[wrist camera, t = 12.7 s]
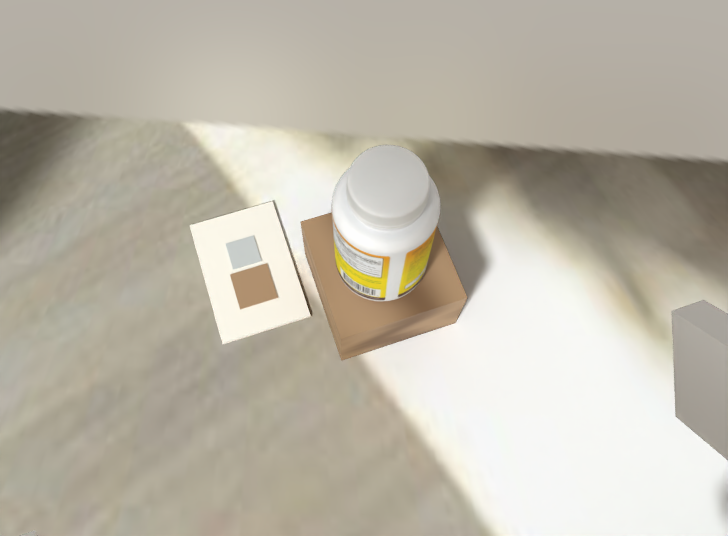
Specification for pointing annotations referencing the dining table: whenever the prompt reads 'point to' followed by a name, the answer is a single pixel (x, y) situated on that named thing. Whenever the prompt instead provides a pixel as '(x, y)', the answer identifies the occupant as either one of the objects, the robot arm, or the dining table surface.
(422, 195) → the supplement bottle
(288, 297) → the page
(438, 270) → the base block
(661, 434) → the dining table surface
